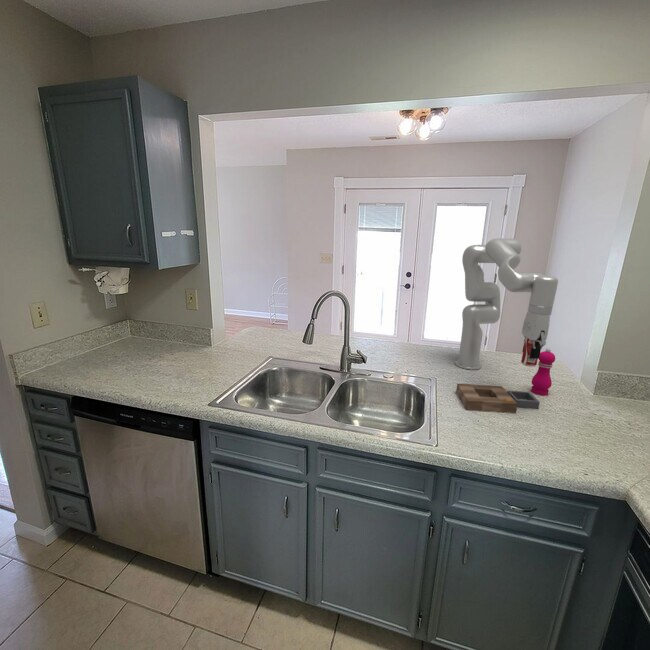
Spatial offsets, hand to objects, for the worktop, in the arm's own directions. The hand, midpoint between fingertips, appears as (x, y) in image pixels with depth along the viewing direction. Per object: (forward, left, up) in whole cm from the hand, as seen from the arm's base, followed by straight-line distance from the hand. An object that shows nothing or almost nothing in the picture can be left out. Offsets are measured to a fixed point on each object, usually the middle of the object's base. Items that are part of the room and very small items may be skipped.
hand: (530, 354), depth 131 cm
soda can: (0, 0, -4) cm, 4 cm away
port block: (+2, -15, -20) cm, 25 cm away
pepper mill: (-11, +12, -21) cm, 26 cm away
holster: (0, 0, -20) cm, 20 cm away
